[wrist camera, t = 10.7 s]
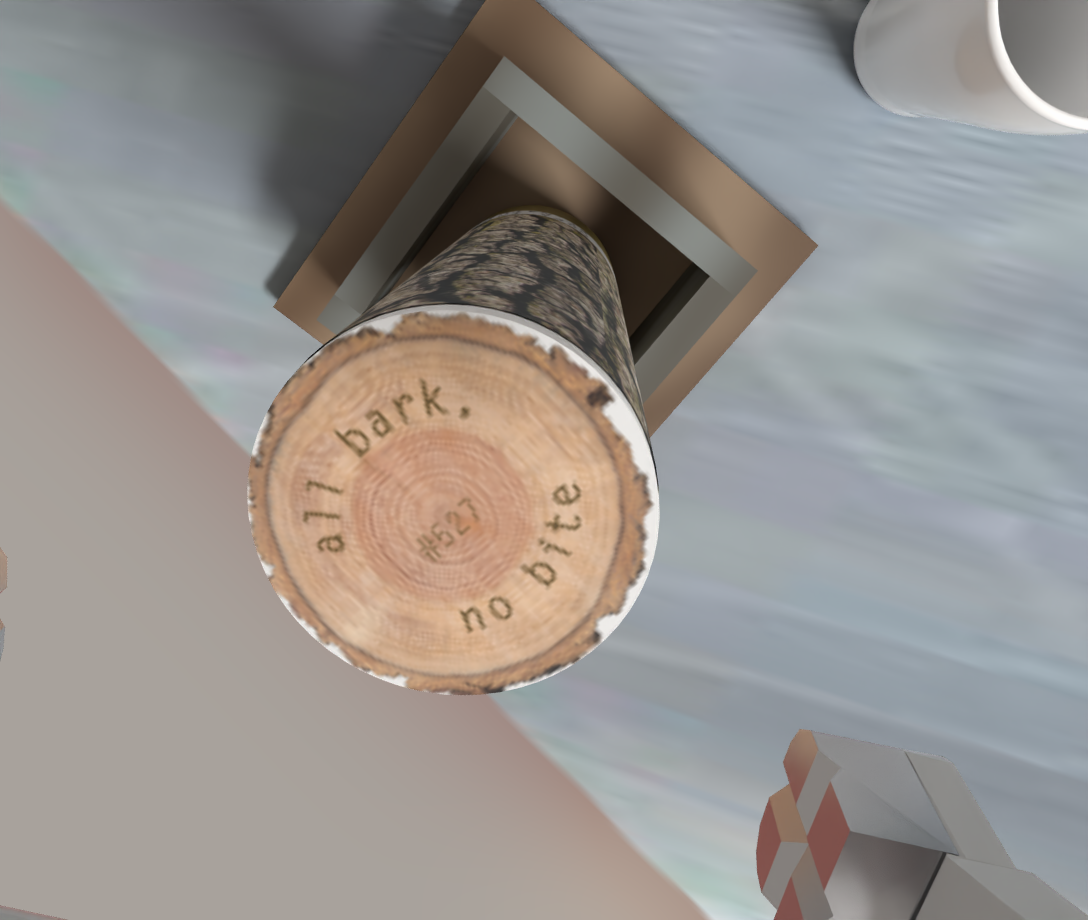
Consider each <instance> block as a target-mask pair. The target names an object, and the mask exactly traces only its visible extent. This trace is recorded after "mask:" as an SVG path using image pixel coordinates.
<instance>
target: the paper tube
mask: <svg viewBox="0 0 1088 920" xmlns="http://www.w3.org/2000/svg"><path fill="white" fill-rule="evenodd" d="M247 497H248V511H249V519H250V525H251V531H252V536H253V539H254V543H255V546H256V550H257V553H258V556H259V558H260V561H261V563H262V566H263V568H264V571H265V573H266V575H267V577H268V579H269V581H270V582H271V584H272V586H273V588H274V590H275V591H276V593H277V594H278V596H279V598H280V599H281V601H282V602H283V604H284V605H285V607H286V608H287V609H288V610H289V611H290V613H292V615H293V616H294V618H295V619H296V620H297V621H298V622H299V623H300V624H301V625H302V627H303V628H304V629H305V630H307V632H308V633H310V635H312V637H314V638H315V639H316V640H317V641H318V642H320V643H321V644H322V645H323V646H324V647H325V648H327V649H328V650H329V651H331V652H332V653H334V654H335V655H337V656H338V657H339V658H341V659H342V660H344V661H345V662H348V663H349V664H351V665H353V666H354V667H356V668H358V669H360V670H361V671H364V672H366V673H368V674H370V675H372V676H374V677H377V678H379V679H381V680H384V681H387V682H390V683H393V684H396V685H399V686H403V687H407V688H410V689H414V690H419V691H425V692H431V693H437V694H450V695H480V694H488V693H496V692H502V691H507V690H512V689H516V688H520V687H523V686H526V685H530V684H533V683H536V682H539V681H541V680H543V679H546V678H548V677H550V676H553V675H555V674H557V673H559V672H561V671H562V670H564V669H566V668H568V667H570V666H571V665H573V664H575V663H576V662H577V661H579V660H580V659H582V658H583V657H585V656H586V655H588V654H589V653H590V652H591V651H593V650H594V649H595V648H596V647H597V646H598V645H599V644H601V643H602V642H603V641H604V640H605V639H606V638H607V637H608V636H609V635H610V634H611V633H612V632H613V631H614V629H615V628H616V627H617V626H618V625H619V624H620V622H621V621H622V620H623V618H624V617H625V616H626V614H627V613H628V612H629V610H630V609H631V607H632V605H633V604H634V602H635V600H636V599H637V597H638V595H639V593H640V591H641V589H642V587H643V585H644V583H645V580H646V578H647V576H648V573H649V570H650V567H651V564H652V561H653V557H654V553H655V548H656V543H657V538H658V527H659V487H658V479H657V472H656V465H655V461H654V456H653V451H652V447H651V442H650V437H649V432H648V428H647V423H646V418H645V414H644V409H643V404H642V400H641V395H640V390H639V385H638V381H637V376H636V371H635V367H634V362H633V357H632V353H631V348H630V343H629V338H628V334H627V329H626V324H625V320H624V315H623V310H622V306H621V301H620V296H619V291H618V287H617V283H616V279H615V275H614V271H613V267H612V264H611V261H610V258H609V256H608V254H607V252H606V250H605V248H604V246H603V245H602V243H601V241H600V240H599V239H598V237H597V236H596V235H595V234H594V233H593V232H592V231H591V230H590V229H589V228H588V227H587V226H586V225H585V224H584V223H582V222H581V221H580V220H578V219H577V218H575V217H574V216H572V215H570V214H568V213H566V212H563V211H561V210H558V209H555V208H551V207H546V206H540V205H524V206H517V207H512V208H508V209H505V210H502V211H500V212H497V213H495V214H494V215H492V216H490V217H488V218H487V219H485V220H484V221H482V222H481V223H480V224H478V225H477V226H475V227H474V228H472V229H471V230H470V231H468V232H467V233H466V234H465V235H463V236H462V237H461V238H459V239H458V240H457V241H456V242H454V243H453V244H452V245H450V246H449V247H448V248H447V249H445V250H444V251H443V252H442V253H440V254H439V255H438V256H436V257H435V258H434V259H433V260H431V261H430V262H429V263H427V264H426V265H425V266H424V267H422V268H421V269H420V270H419V271H417V272H416V273H415V274H413V275H412V276H411V277H410V278H408V279H407V280H406V281H404V282H403V283H402V284H401V285H399V286H398V287H397V288H396V289H394V290H393V291H392V292H390V293H389V294H388V295H387V296H385V297H384V298H383V299H381V300H380V301H379V302H378V303H376V304H375V305H374V306H373V307H371V308H370V309H369V310H367V311H366V312H365V313H364V314H362V315H361V316H360V317H358V318H357V319H356V320H355V321H353V322H352V323H351V324H350V325H348V326H347V327H346V328H344V329H343V330H342V331H341V332H339V333H338V334H337V335H335V336H334V337H333V338H332V339H330V340H329V341H328V342H326V343H325V344H324V345H323V346H322V347H321V348H319V349H318V350H317V351H316V352H315V353H314V354H312V355H311V356H310V357H309V358H308V359H307V360H306V361H305V362H304V364H303V365H302V366H301V367H300V368H299V369H298V370H297V371H296V372H295V374H294V375H293V376H292V377H291V378H290V379H289V380H288V381H287V383H286V384H285V385H284V387H283V388H282V389H281V391H280V392H279V394H278V395H277V396H276V398H275V399H274V401H273V403H272V405H271V407H270V408H269V410H268V412H267V414H266V415H265V418H264V420H263V422H262V425H261V427H260V430H259V432H258V434H257V438H256V441H255V445H254V448H253V452H252V456H251V462H250V468H249V474H248V492H247Z"/></svg>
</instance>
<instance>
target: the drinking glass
mask: <svg viewBox="0 0 1088 920" xmlns="http://www.w3.org/2000/svg"><path fill="white" fill-rule="evenodd" d="M853 52H854V63H855V68H856V72H857V75H858V78H859V80H860V82H861V84H862V86H863V88H864V89H865V91H866V92H867V94H868V95H869V96H870V97H871V98H872V99H873V100H874V101H875V102H876V103H877V104H878V105H880V106H881V107H883V108H884V109H886V110H888V111H890V112H892V113H895V114H898V115H902V116H906V117H930V118H935V119H941V120H946V121H951V122H956V123H961V124H966V125H971V126H975V127H980V128H985V129H990V130H995V131H1001V132H1007V133H1015V134H1024V135H1073V134H1086V133H1088V0H870V1H869V3H868V4H867V6H866V8H865V9H864V11H863V13H862V15H861V18H860V20H859V23H858V26H857V29H856V33H855V38H854V50H853Z"/></svg>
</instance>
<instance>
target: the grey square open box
mask: <svg viewBox="0 0 1088 920" xmlns="http://www.w3.org/2000/svg"><path fill="white" fill-rule="evenodd" d="M524 205H540V206H546V207H551V208H555V209H558V210H561V211H563V212H566V213H568V214H570V215H572V216H574V217H575V218H577V219H578V220H580V221H581V222H582V223H584V224H585V225H586V226H587V227H588V228H589V229H590V230H591V231H592V232H593V233H594V234H595V235H596V236H597V237H598V239H599V240H600V241H601V243H602V245H603V246H604V248H605V250H606V252H607V254H608V256H609V258H610V261H611V264H612V267H613V271H614V275H615V279H616V283H617V287H618V291H619V296H620V301H621V306H622V310H623V315H624V320H625V324H626V329H627V334H628V338H629V343H630V348H631V353H632V357H633V362H634V367H635V371H636V376H637V381H638V385H639V390H640V395H641V400H642V404H643V409H644V414H645V418H646V423H647V428H648V432H649V437H651V436H652V435H653V433H654V432H655V431H656V430H657V429H658V428H659V427H660V425H661V424H662V423H663V422H664V421H665V420H666V419H667V417H668V416H669V415H670V414H671V413H672V412H673V411H674V409H675V408H676V407H677V406H678V405H679V404H680V403H681V402H682V400H683V399H684V398H685V397H686V396H687V395H688V394H689V392H690V391H691V390H692V389H693V388H694V387H695V386H696V384H697V383H698V382H699V381H700V380H701V379H702V378H703V376H704V375H705V374H706V373H707V372H708V371H709V370H710V368H711V367H712V366H713V365H714V364H715V363H716V362H717V360H718V359H719V358H720V357H721V356H722V355H723V354H724V352H725V351H726V350H727V349H728V348H729V347H730V346H731V345H732V343H733V342H734V341H735V340H736V339H737V338H738V337H739V335H740V334H741V333H742V332H743V331H744V330H745V329H746V327H747V326H748V325H749V324H750V323H751V322H752V321H753V319H754V318H755V317H756V316H757V315H758V314H759V313H760V311H761V310H762V309H763V308H764V307H765V306H766V305H767V303H768V302H769V301H770V300H771V299H772V298H773V297H774V295H775V294H776V293H777V292H778V291H779V290H780V289H781V288H782V286H783V285H784V284H785V283H786V282H787V281H788V280H789V278H790V277H791V276H792V275H793V274H794V273H795V272H796V270H797V269H798V268H799V267H800V266H801V265H802V264H803V262H804V261H805V260H806V259H807V258H808V257H809V256H810V254H811V253H812V252H813V251H814V250H815V249H816V248H817V246H818V245H817V244H816V243H815V242H814V241H813V240H812V239H810V238H809V237H808V236H807V235H806V234H805V233H803V232H802V231H801V230H800V229H799V228H798V227H796V226H795V225H794V224H793V223H792V222H791V221H790V220H788V219H787V218H786V217H785V216H784V215H783V214H781V213H780V212H779V211H778V210H777V209H776V208H774V207H773V206H772V205H771V204H770V203H769V202H768V201H766V200H765V199H764V198H763V197H762V196H761V195H759V194H758V193H757V192H756V191H755V190H754V189H753V188H751V187H750V186H749V185H748V184H747V183H746V182H744V181H743V180H742V179H741V178H740V177H739V176H737V175H736V174H735V173H734V172H733V171H732V170H731V169H729V168H728V167H727V166H726V165H725V164H724V163H722V162H721V161H720V160H719V159H718V158H717V157H715V156H714V155H713V154H712V153H711V152H710V151H709V150H707V149H706V148H705V147H704V146H703V145H702V144H700V143H699V142H698V141H697V140H696V139H695V138H694V137H692V136H691V135H690V134H689V133H688V132H687V131H685V130H684V129H683V128H682V127H681V126H680V125H678V124H677V123H676V122H675V121H674V120H673V119H672V118H670V117H669V116H668V115H667V114H666V113H665V112H663V111H662V110H661V109H660V108H659V107H658V106H656V105H655V104H654V103H653V102H652V101H651V100H650V99H648V98H647V97H646V96H645V95H644V94H643V93H641V92H640V91H639V90H638V89H637V88H636V87H635V86H633V85H632V84H631V83H630V82H629V81H628V80H626V79H625V78H624V77H623V76H622V75H621V74H619V73H618V72H617V71H616V70H615V69H614V68H613V67H611V66H610V65H609V64H608V63H607V62H606V61H604V60H603V59H602V58H601V57H600V56H599V55H598V54H596V53H595V52H594V51H593V50H592V49H591V48H589V47H588V46H587V45H586V44H585V43H584V42H582V41H581V40H580V39H579V38H578V37H577V36H576V35H574V34H573V33H572V32H571V31H570V30H569V29H567V28H566V27H565V26H564V25H563V24H562V23H560V22H559V21H558V20H557V19H556V18H555V17H554V16H552V15H551V14H550V13H549V12H548V11H547V10H545V9H544V8H543V7H542V6H541V5H540V4H539V3H537V2H536V1H535V0H485V2H484V3H483V5H482V6H481V8H480V9H479V11H478V12H477V13H476V15H475V16H474V18H473V19H472V21H471V22H470V24H469V25H468V26H467V28H466V29H465V31H464V32H463V34H462V35H461V37H460V38H459V39H458V41H457V42H456V44H455V45H454V47H453V48H452V50H451V51H450V52H449V54H448V55H447V57H446V58H445V60H444V61H443V63H442V64H441V65H440V67H439V68H438V70H437V71H436V73H435V74H434V76H433V77H432V78H431V80H430V81H429V83H428V84H427V86H426V87H425V89H424V90H423V91H422V93H421V94H420V96H419V97H418V99H417V100H416V102H415V103H414V104H413V106H412V107H411V109H410V110H409V112H408V113H407V115H406V116H405V117H404V119H403V120H402V122H401V123H400V125H399V126H398V128H397V129H396V130H395V132H394V133H393V135H392V136H391V138H390V139H389V140H388V142H387V143H386V145H385V146H384V148H383V149H382V151H381V152H380V153H379V155H378V156H377V158H376V159H375V161H374V162H373V164H372V165H371V166H370V168H369V169H368V171H367V172H366V174H365V175H364V177H363V178H362V179H361V181H360V182H359V184H358V185H357V187H356V188H355V190H354V191H353V192H352V194H351V195H350V197H349V198H348V200H347V201H346V203H345V204H344V205H343V207H342V208H341V210H340V211H339V213H338V214H337V216H336V217H335V218H334V220H333V221H332V223H331V224H330V226H329V227H328V229H327V230H326V231H325V233H324V234H323V236H322V237H321V239H320V240H319V242H318V243H317V244H316V246H315V247H314V249H313V250H312V252H311V253H310V255H309V256H308V257H307V259H306V260H305V262H304V263H303V265H302V266H301V268H300V269H299V270H298V272H297V273H296V275H295V276H294V278H293V279H292V281H291V282H290V283H289V285H288V286H287V288H286V289H285V291H284V292H283V294H282V295H281V296H280V298H279V299H278V301H277V302H276V304H275V305H274V306H273V307H274V308H275V309H277V310H278V311H279V312H281V313H282V314H283V315H285V316H286V317H287V318H289V319H290V320H291V321H293V322H294V323H295V324H297V325H298V326H299V327H301V328H302V329H303V330H305V331H306V332H307V333H309V334H310V335H311V336H313V337H314V338H315V339H317V340H318V341H319V342H321V343H322V344H323V345H324V344H325V343H326V342H328V341H329V340H330V339H332V338H333V337H334V336H335V335H337V334H338V333H339V332H341V331H342V330H343V329H344V328H346V327H347V326H348V325H350V324H351V323H352V322H353V321H355V320H356V319H357V318H358V317H360V316H361V315H362V314H364V313H365V312H366V311H367V310H369V309H370V308H371V307H373V306H374V305H375V304H376V303H378V302H379V301H380V300H381V299H383V298H384V297H385V296H387V295H388V294H389V293H390V292H392V291H393V290H394V289H396V288H397V287H398V286H399V285H401V284H402V283H403V282H404V281H406V280H407V279H408V278H410V277H411V276H412V275H413V274H415V273H416V272H417V271H419V270H420V269H421V268H422V267H424V266H425V265H426V264H427V263H429V262H430V261H431V260H433V259H434V258H435V257H436V256H438V255H439V254H440V253H442V252H443V251H444V250H445V249H447V248H448V247H449V246H450V245H452V244H453V243H454V242H456V241H457V240H458V239H459V238H461V237H462V236H463V235H465V234H466V233H467V232H468V231H470V230H471V229H472V228H474V227H475V226H477V225H478V224H480V223H481V222H482V221H484V220H485V219H487V218H488V217H490V216H492V215H494V214H495V213H497V212H500V211H502V210H505V209H508V208H512V207H517V206H524Z"/></svg>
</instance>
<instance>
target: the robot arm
mask: <svg viewBox="0 0 1088 920" xmlns="http://www.w3.org/2000/svg"><path fill="white" fill-rule="evenodd" d="M6 587H7V556H6V555H5V554H4V552H3V551H2V549H1V548H0V593H1V592H2V591H3V590H4V589H6ZM4 632H5V626H4V624H3V623H2V621H1V620H0V659H1V655H2V652H3V647H4ZM783 764H784V768H785V771H786V774H787V777H788V781H789V784H788V785H787V786H786V787H784V788H783V789H781V790H780V791H778V792H777V793H775V794H774V795H772V796H771V797H769V800H768V803H767V805H766V808H765V811H764V814H763V817H762V820H761V823H760V827H759V835H758V842H757V849H756V860H757V875H758V879H759V884H760V888H761V893H762V894H763V895H764V896H765V897H766V898H767V899H768V900H769V901H770V903H771V904H772V905H773V906H774V907H775V908H776V909H777V912H776V915H775V917H774V920H1088V915H1086V914H1085V913H1084V912H1082V911H1081V910H1080V909H1079V908H1077V907H1076V906H1075V905H1073V904H1072V903H1071V902H1069V901H1068V900H1067V899H1066V898H1064V897H1063V896H1062V895H1060V894H1059V893H1058V892H1056V891H1055V890H1054V889H1053V888H1051V887H1050V886H1049V885H1047V884H1046V883H1045V882H1043V881H1042V880H1041V879H1040V878H1038V877H1037V876H1036V875H1034V874H1033V873H1030V872H1026V871H1022V870H1018V869H1016V867H1015V866H1014V864H1013V862H1012V861H1011V859H1010V857H1009V856H1008V854H1007V852H1006V851H1005V849H1004V847H1003V846H1002V844H1001V842H1000V841H999V839H998V837H997V836H996V834H995V832H994V831H993V829H992V827H991V826H990V824H989V822H988V821H987V819H986V817H985V815H984V814H983V812H982V810H981V809H980V807H979V805H978V804H977V802H976V800H975V799H974V797H973V795H972V794H971V792H970V790H969V789H968V787H967V785H966V784H965V782H964V780H963V779H962V777H961V775H960V774H959V772H958V770H957V769H956V767H955V765H954V764H953V763H952V762H950V761H949V760H947V759H946V758H944V757H943V756H937V755H932V754H927V753H921V752H916V751H910V750H905V749H900V748H895V747H890V746H885V745H880V744H875V743H870V742H865V741H860V740H855V739H850V738H845V737H840V736H835V735H830V734H825V733H820V732H815V731H810V730H802V729H800V730H799V731H798V733H797V734H796V735H795V737H794V738H793V740H792V741H791V743H790V745H789V748H788V750H787V753H786V755H785V758H784V760H783ZM0 920H67V919H61V918H57V917H52V916H48V915H43V914H38V913H33V912H29V911H24V910H20V909H15V908H10V907H6V906H1V905H0Z"/></svg>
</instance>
